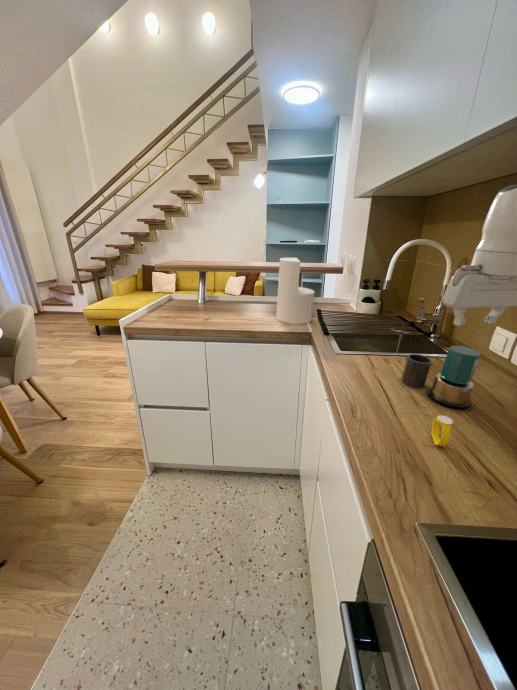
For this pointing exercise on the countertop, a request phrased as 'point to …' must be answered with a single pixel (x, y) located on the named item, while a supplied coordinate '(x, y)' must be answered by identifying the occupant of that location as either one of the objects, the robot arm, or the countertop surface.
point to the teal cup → (460, 364)
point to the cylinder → (293, 294)
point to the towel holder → (450, 393)
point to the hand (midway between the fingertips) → (473, 324)
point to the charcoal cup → (416, 370)
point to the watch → (446, 424)
